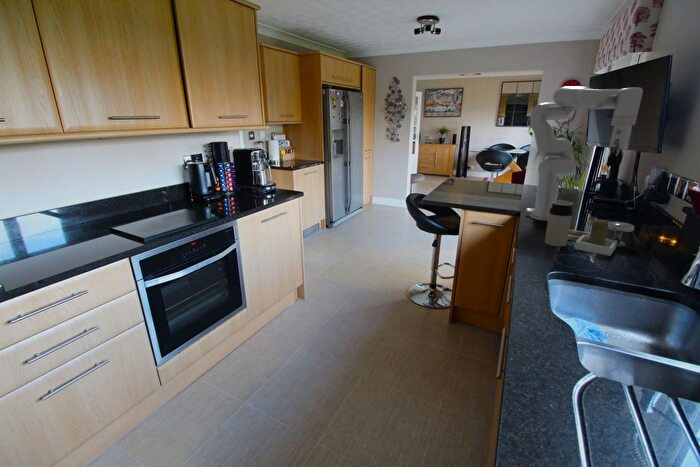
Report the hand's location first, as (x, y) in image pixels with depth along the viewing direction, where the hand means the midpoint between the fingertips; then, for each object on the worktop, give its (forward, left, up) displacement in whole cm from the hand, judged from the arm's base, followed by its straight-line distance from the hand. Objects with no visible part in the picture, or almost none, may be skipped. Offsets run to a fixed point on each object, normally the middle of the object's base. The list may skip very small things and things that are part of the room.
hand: (613, 164), depth 136 cm
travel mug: (-11, -22, -32) cm, 40 cm away
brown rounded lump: (+2, -17, -31) cm, 35 cm away
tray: (+2, -18, -32) cm, 36 cm away
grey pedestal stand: (+7, -7, -32) cm, 33 cm away
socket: (-6, -8, -32) cm, 33 cm away
